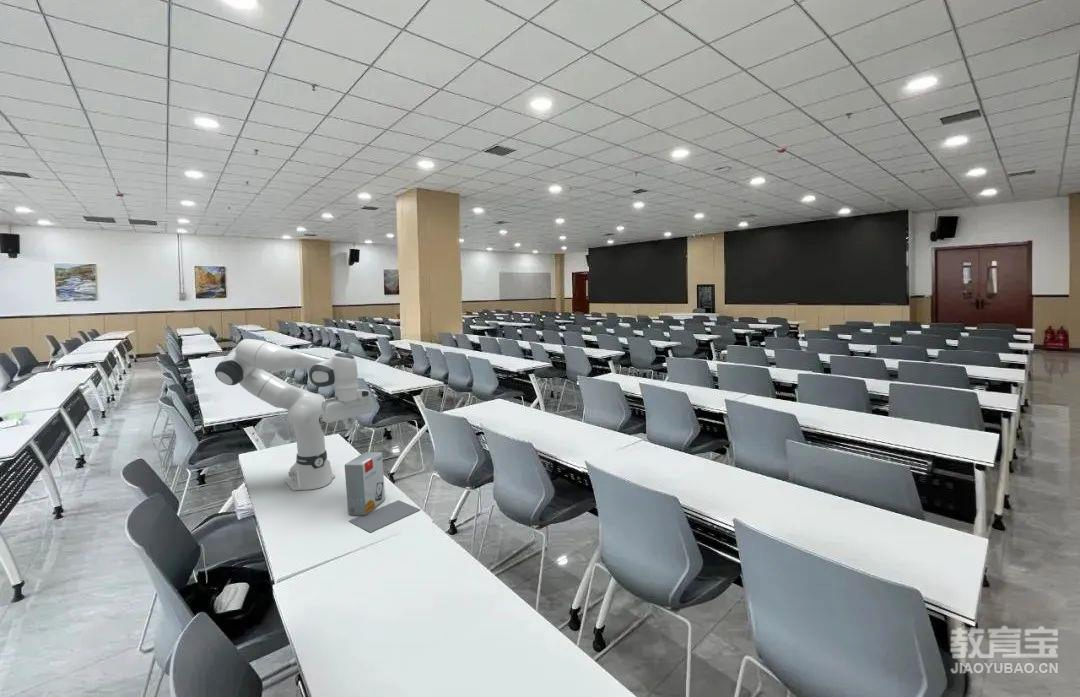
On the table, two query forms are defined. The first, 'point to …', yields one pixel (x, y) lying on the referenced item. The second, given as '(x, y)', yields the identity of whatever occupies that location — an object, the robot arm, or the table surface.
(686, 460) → the table surface
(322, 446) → the robot arm
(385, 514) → the mat
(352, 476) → the hard drive box
